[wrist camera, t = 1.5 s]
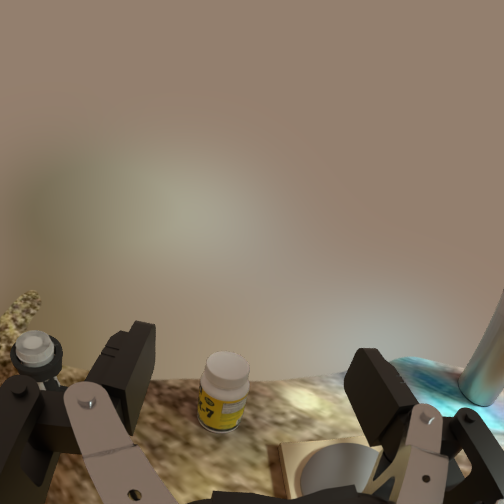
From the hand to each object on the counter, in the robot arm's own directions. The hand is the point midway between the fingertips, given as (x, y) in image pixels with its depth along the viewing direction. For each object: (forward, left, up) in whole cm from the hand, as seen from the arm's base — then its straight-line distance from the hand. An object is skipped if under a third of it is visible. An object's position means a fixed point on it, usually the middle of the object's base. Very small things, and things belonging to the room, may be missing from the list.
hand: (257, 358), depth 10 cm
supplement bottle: (0, -11, -19) cm, 22 cm away
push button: (+17, -6, -19) cm, 26 cm away
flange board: (-12, -1, -19) cm, 22 cm away
